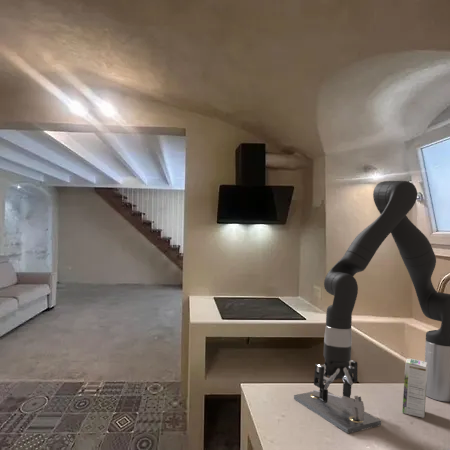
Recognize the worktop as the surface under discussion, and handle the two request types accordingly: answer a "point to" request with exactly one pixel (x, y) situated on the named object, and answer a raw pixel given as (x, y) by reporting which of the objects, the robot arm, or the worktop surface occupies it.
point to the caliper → (347, 403)
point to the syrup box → (415, 387)
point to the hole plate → (337, 413)
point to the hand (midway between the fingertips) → (335, 399)
